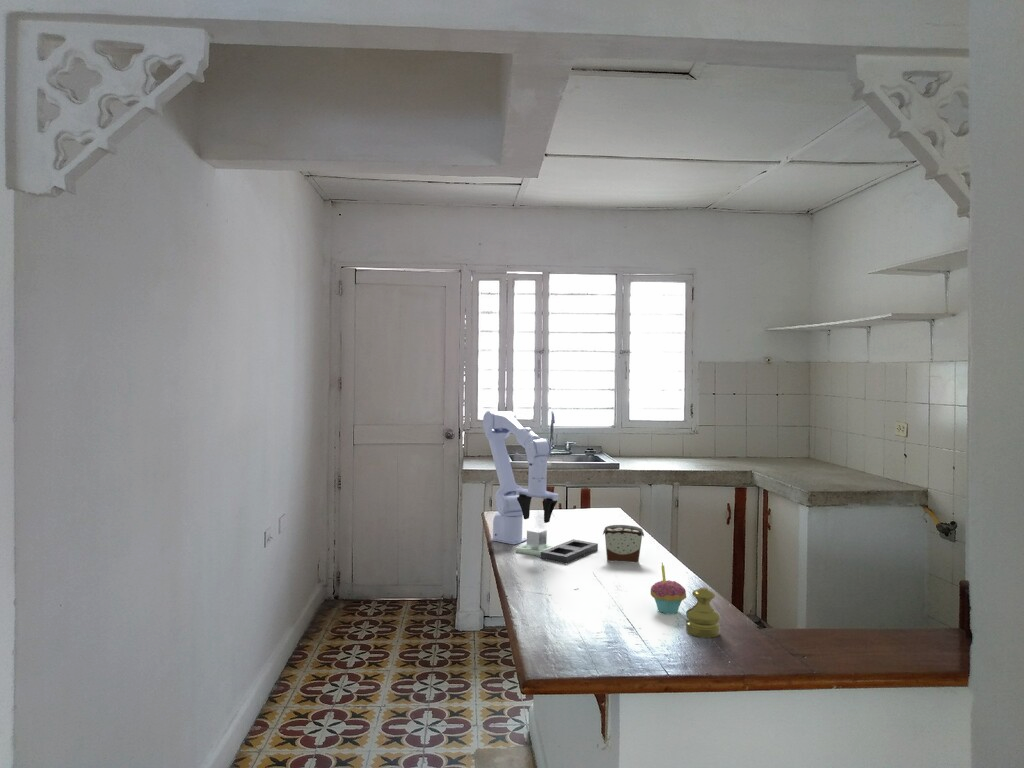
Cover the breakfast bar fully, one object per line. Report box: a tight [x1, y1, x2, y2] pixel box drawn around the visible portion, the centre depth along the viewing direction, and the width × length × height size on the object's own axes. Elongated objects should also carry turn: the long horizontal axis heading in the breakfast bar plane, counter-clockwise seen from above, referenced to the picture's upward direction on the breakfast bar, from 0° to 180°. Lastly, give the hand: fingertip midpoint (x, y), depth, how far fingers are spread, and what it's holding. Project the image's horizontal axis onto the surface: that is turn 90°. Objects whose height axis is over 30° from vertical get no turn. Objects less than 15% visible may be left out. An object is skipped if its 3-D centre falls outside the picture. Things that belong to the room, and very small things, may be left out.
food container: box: [602, 524, 645, 564], centre depth 223 cm, size 12×6×10 cm, turn 84°
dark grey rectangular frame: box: [540, 538, 599, 564], centre depth 228 cm, size 9×20×2 cm, turn 146°
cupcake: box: [650, 562, 687, 615], centre depth 178 cm, size 9×8×12 cm
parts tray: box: [515, 543, 556, 557], centre depth 230 cm, size 9×9×1 cm
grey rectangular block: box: [526, 527, 548, 551], centre depth 230 cm, size 4×4×6 cm
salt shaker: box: [685, 586, 722, 639], centre depth 163 cm, size 7×7×10 cm
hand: (536, 520), depth 230 cm, fingers open, 7 cm apart
